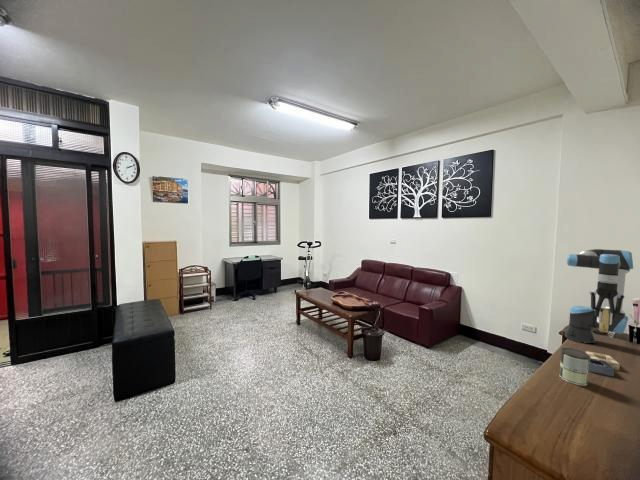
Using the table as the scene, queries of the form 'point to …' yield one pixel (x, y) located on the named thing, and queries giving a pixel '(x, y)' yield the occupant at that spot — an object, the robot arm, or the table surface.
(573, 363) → the coffee can
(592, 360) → the socket
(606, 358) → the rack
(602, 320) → the peg
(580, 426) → the table surface
